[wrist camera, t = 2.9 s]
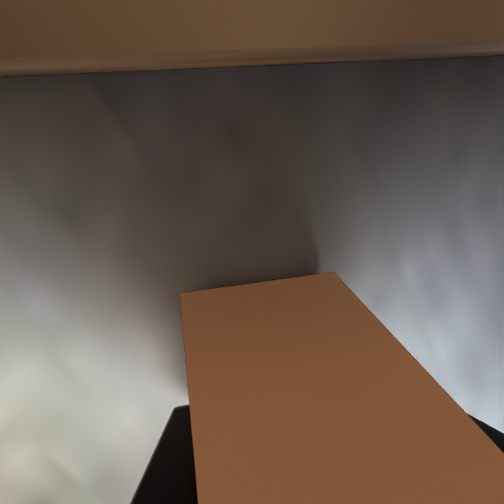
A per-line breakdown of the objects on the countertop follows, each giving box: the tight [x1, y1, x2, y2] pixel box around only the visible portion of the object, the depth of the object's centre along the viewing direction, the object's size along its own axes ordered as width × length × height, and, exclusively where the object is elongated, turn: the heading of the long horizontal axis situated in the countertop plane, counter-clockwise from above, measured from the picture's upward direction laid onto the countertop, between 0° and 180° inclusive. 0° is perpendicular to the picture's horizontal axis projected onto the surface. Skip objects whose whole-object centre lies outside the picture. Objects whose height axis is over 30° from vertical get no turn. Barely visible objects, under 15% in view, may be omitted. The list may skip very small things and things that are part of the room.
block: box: [180, 272, 504, 504], centre depth 7 cm, size 4×4×8 cm
